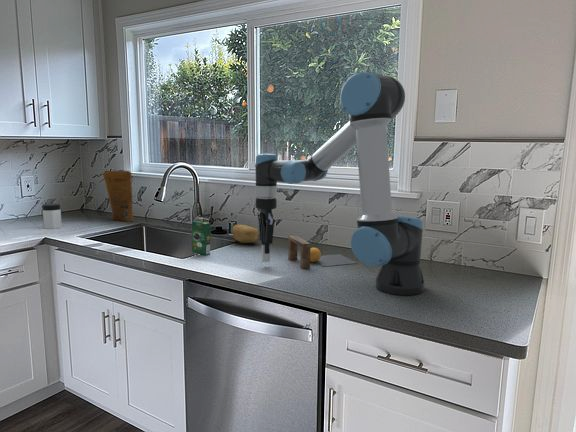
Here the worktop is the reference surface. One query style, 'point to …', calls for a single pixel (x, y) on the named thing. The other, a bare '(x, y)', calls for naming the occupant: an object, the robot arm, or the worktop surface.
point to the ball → (314, 254)
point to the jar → (51, 216)
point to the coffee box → (201, 237)
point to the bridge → (305, 251)
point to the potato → (245, 233)
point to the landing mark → (334, 260)
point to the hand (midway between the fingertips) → (265, 261)
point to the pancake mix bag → (119, 194)
